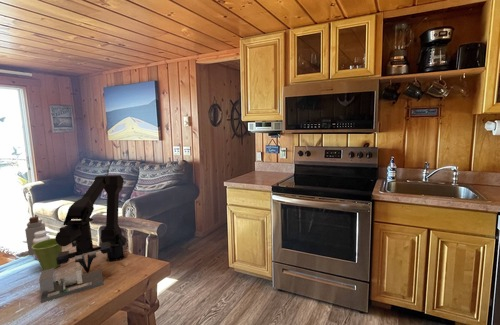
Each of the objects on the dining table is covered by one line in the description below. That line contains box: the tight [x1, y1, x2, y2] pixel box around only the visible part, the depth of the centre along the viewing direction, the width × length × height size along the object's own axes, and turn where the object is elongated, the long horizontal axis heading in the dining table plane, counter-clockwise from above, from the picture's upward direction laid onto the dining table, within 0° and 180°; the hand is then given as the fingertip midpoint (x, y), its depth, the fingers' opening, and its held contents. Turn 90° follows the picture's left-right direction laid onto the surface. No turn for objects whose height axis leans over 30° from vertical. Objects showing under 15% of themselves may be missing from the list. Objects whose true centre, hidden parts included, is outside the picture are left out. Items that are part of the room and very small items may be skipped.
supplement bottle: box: [33, 231, 51, 261], centre depth 136 cm, size 7×7×13 cm
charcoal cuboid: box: [59, 283, 63, 292], centre depth 104 cm, size 1×2×2 cm, turn 31°
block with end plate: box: [57, 262, 83, 289], centre depth 110 cm, size 8×10×6 cm
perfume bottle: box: [24, 216, 47, 257], centre depth 143 cm, size 7×7×18 cm
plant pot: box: [32, 237, 63, 271], centre depth 126 cm, size 12×12×11 cm
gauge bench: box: [38, 268, 104, 304], centre depth 110 cm, size 20×12×7 cm, turn 121°
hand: (87, 272), depth 113 cm, fingers closed
